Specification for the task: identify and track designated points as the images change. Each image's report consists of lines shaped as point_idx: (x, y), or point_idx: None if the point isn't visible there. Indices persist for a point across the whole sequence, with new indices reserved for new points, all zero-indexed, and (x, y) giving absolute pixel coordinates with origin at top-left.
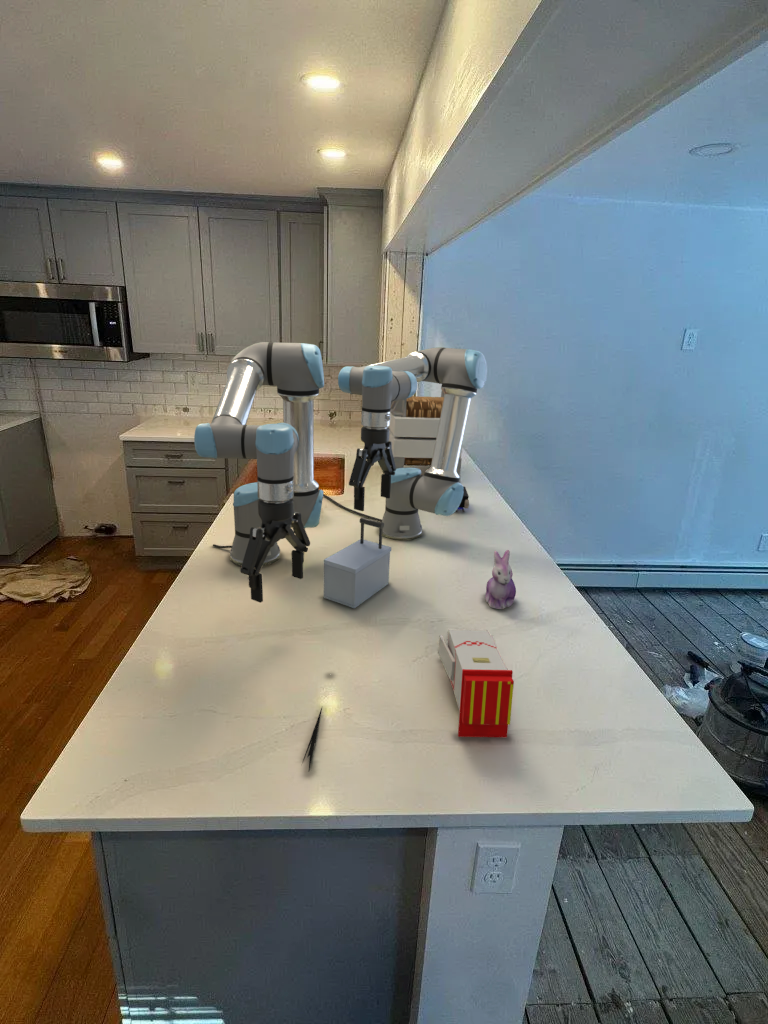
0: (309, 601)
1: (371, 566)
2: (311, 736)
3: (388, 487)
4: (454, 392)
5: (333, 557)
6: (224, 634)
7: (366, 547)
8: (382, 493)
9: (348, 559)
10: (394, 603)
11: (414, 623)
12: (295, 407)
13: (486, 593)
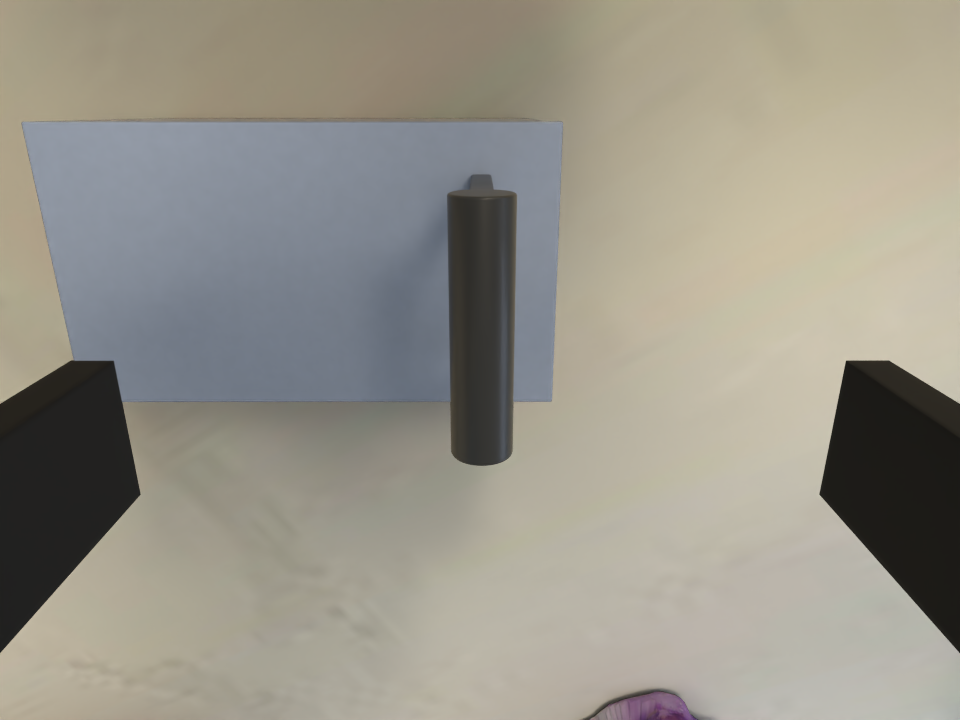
0: (85, 78)
1: None
2: None
3: (925, 598)
4: None
5: (105, 163)
6: None
7: (431, 262)
8: (869, 417)
9: (163, 277)
10: (365, 435)
11: (279, 569)
12: None
13: (640, 713)
